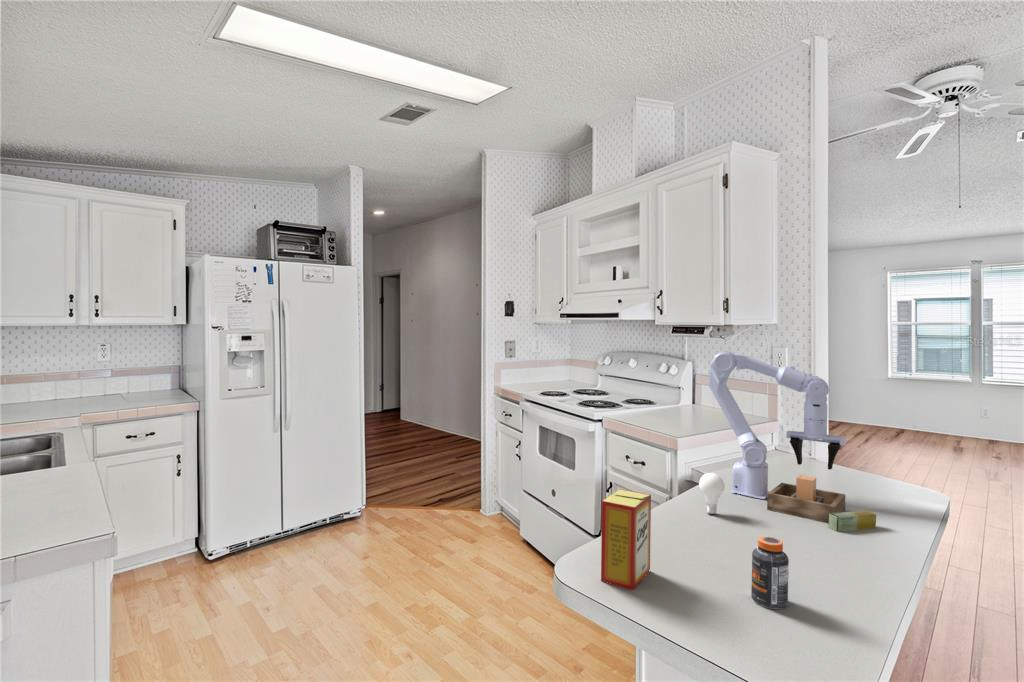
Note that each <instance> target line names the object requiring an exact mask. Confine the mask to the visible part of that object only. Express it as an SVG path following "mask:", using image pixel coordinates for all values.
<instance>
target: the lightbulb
mask: <svg viewBox="0 0 1024 682" xmlns="http://www.w3.org/2000/svg"><path fill="white" fill-rule="evenodd" d="M698 482H699V483H698V486H699V490H700V492H701V493H702V495H703V496H704V500H705V505H706V506H705V511H706V513H708V514H709V513H710V514H709V515H715V514H716V513H717V511H718V509H717V507H718V503H719V499H720V497H721V495H722V494H723V492H724V491H725V487H726V485H725V481H724V479H723V478H722V476H720V475H719V474H717V473H715V472H706V473H704V474H703V475H702V476H700V478H699V481H698Z"/></svg>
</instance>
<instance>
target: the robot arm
mask: <svg viewBox="0 0 1024 682" xmlns="http://www.w3.org/2000/svg"><path fill="white" fill-rule="evenodd" d="M735 368H736V370H737V371H738V370H746V369H747V370H750V371H754V372H756V373H758V374H763V375H765V376H768V377H771V378H774V379H775V381H776V383H777V384H778V385H779V386H783V387H785V388H788V389H791V390H793V391H796V392H799V393H803V392H804V393H805V401H804V403H803V404H804V408H803V413H804V414H803V418H804V419H803V431H798V430H797V431H796V430H795V431H794V430H787V431H786V439H790V440H789V444H790V446H791V448H792V450H793V452H794V454H795V457H796V462H797V465H798V466H799V465H800V466H801V465H802V464H803V443H804V441H812V442H817V443H818V442H819V443H827V444H828V445H827V450H828V451H827V452H828V453H827V454H828V459H827V470H832V469H833V465H834V462H835V459H836V456H837V454H838V452H839V450H840V449H841V447H842V446H846V437H843V436H837V435H833V434H832V435H831V434H828V403H827V401H828V397H827V395H828V394H829V392H830V388H829V385H828V382H826V381H825V379H823V378H821V377H819V376H817V375H813V373H811V372H808V373H806V372H804V371H800V370H798V369H796V366H793V365H790V366H787V365H785V366H781V367H777V366H774V365H772V364H769V363H766V362H764V361H762V360H759V359H756V358H753V357H751V356H748V355H745V354H741V353H733V352H732V351H728V350H723V351H720V352H718V353H716V354H715V355H714V357H713V358H712V361H711V363H710V364H709V376H708V387H709V389H710V390H711V392H712V394H713V396H714V398H715V400H716V402H717V404H718V405H719V407H720V408H721V410H722V412H723V415H724V417H725V418H726V419H727V422H728V423H729V425H730V427H731V429H732V431H733V432H734V434H735V436H736V438H737V440H738V444H739V446H740V448H741V450H742V458H743V459H742V460H741V461H740V462H739V461H736V462H735V463H734V464H733V467H732V479H731V483H732V484H731V489H732V490H731V491H730V492H733V493H732V494H735V493H737V494H736V495H740V494H741V496H746V497H749V498H754V499H760V500H766V499H767V493H769V492H770V490H769V491H768V489H769V488H768V485H769V483H768V482H769V464H768V463H767V462H766V461H767V454H768V453H767V452H768V449H767V446H766V444H764V442H762V441H761V440H759V439H758V437H757V435H756V433H754V431H753V430H752V427H751V426H750V424H749V422H748V421H747V418H746V417H745V415H744V414H743V412H742V410H741V408H740V406H739V404H738V403H737V400H736V399H735V398H734V396H733V394H732V392H731V390H730V388H729V387H728V385H727V382H728V380H729V377H730V375H731V373H732V371H733V370H734V369H735Z"/></svg>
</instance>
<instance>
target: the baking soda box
mask: <svg viewBox="0 0 1024 682" xmlns="http://www.w3.org/2000/svg"><path fill="white" fill-rule="evenodd" d="M651 508H652V494H648V493H645V492H644V493H643V492H638V491H632V490H628V489H622V488H620V489H618V490H617V491H616V492H614V493H612V494H611V495H609V496H608V497H606V498H604V499H603V500H602V501H601V549H600V551H601V553H600V554H601V555H600V556H601V558H600V559H601V561H600V562H601V564H600V567H601V568H600V570H601V571H600V581H601V582H603V581H605V582H604V583H606V582H608V583H607V584H609V583H611V584H610V585H613V584H614V586H616V585H617V587H620V588H623V589H627V590H630V591H634V590H635V589H637V587H638V586H639V585H640V584H641V582H642V581H643V580H644V579H645V578H644V577H646V576H647V575H648V574H649V573H650V572H649V570H650V571H651V530H652V529H651V525H652V524H651V522H652V521H651V520H652V519H651V518H652V517H651V516H652V515H651V514H652V513H651V511H652V509H651ZM648 572H649V573H648ZM647 573H648V574H647ZM646 574H647V575H646ZM645 575H646V576H645ZM643 578H644V579H643ZM642 579H643V580H642ZM641 580H642V581H641ZM640 581H641V582H640ZM637 585H638V586H637Z"/></svg>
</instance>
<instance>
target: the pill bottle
mask: <svg viewBox="0 0 1024 682" xmlns="http://www.w3.org/2000/svg"><path fill="white" fill-rule="evenodd" d="M757 541H758V542H757V547H755V548H753V550H752V552H751V553H752V554H751V555H752V556H751V557H752V558H751V592H750V593H751V599H752V601H754V603H756V604H757V605H759V606H761V607H764V608H767V609H772V610H782V609H785V608H786V607H788V603H789V601H788V600H789V574H790V573H789V569H790V568H789V563H790V561H789V556H788V554H787V553H786V552H784V551H783V550H784V544H783V543H784V542H783V541H782V540H781V539H780V538H778V537H774V536H769V535H762V536H759V537H758V540H757Z"/></svg>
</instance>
